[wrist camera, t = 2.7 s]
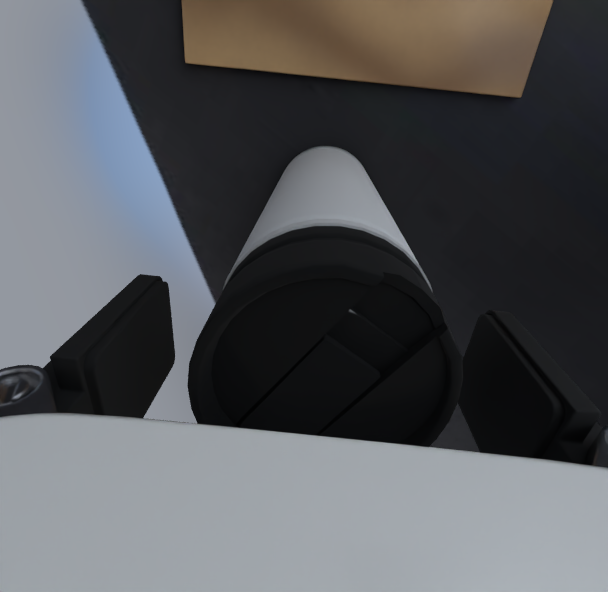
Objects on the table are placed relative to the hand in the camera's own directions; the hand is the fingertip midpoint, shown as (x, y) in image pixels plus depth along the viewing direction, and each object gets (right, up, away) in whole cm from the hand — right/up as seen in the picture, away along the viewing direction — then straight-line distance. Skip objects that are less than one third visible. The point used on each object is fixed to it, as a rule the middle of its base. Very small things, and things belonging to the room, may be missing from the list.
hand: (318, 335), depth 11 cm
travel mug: (+1, +8, +14) cm, 17 cm away
